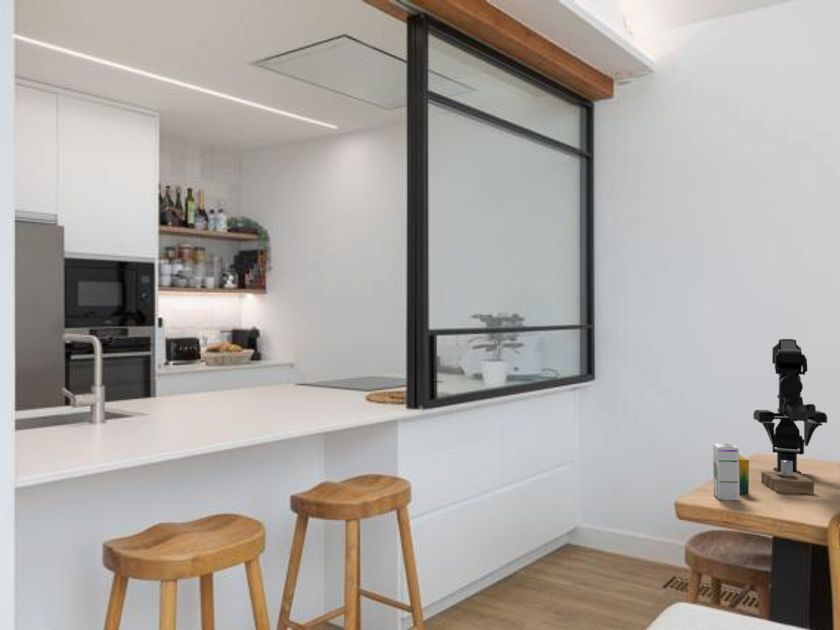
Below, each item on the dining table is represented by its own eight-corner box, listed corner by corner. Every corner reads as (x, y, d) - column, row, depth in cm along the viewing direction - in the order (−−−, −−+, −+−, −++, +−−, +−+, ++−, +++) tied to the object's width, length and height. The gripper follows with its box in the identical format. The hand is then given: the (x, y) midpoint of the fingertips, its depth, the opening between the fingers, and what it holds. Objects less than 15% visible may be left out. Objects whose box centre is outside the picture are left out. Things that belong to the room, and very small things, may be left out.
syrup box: (740, 501, 188) (740, 447, 189) (717, 499, 190) (717, 446, 190) (735, 496, 194) (735, 443, 194) (712, 494, 195) (712, 443, 195)
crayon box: (749, 495, 195) (749, 453, 195) (738, 494, 196) (738, 453, 196) (740, 488, 202) (740, 448, 203) (729, 488, 203) (729, 448, 203)
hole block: (761, 483, 210) (761, 471, 210) (796, 484, 208) (796, 472, 208) (776, 492, 198) (776, 480, 198) (813, 494, 196) (813, 481, 196)
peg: (779, 487, 205) (779, 459, 205) (790, 487, 204) (790, 460, 204) (783, 489, 202) (783, 461, 202) (794, 489, 201) (794, 462, 201)
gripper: (766, 395, 199) (766, 450, 199) (836, 396, 196) (836, 451, 197) (752, 391, 210) (752, 442, 210) (818, 391, 208) (818, 444, 208)
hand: (789, 445), depth 206 cm, fingers open, 9 cm apart
